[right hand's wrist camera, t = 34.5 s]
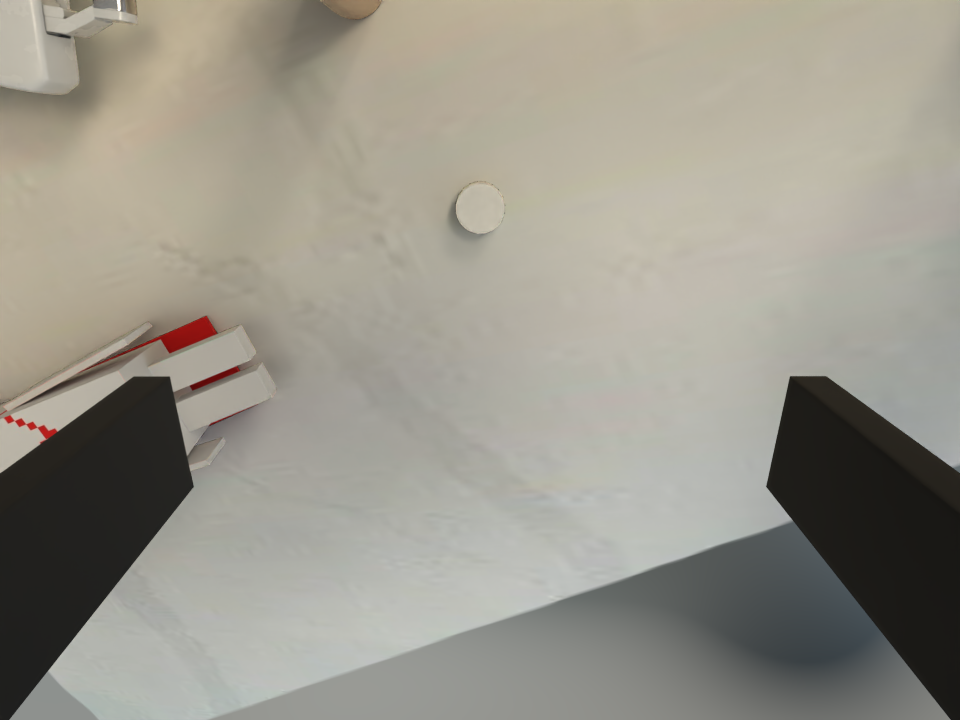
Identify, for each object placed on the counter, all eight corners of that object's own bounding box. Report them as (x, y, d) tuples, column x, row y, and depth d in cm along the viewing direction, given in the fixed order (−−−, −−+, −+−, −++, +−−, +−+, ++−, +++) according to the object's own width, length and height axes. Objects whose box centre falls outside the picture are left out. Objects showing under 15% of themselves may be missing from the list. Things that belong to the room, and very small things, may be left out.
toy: (277, 450, 46) (-78, 596, 46) (303, 387, 58) (25, 502, 58) (195, 310, 41) (-196, 471, 41) (243, 275, 54) (-57, 399, 54)
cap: (463, 236, 49) (463, 240, 47) (450, 188, 48) (449, 191, 46) (509, 223, 49) (510, 226, 47) (497, 175, 47) (498, 176, 46)
